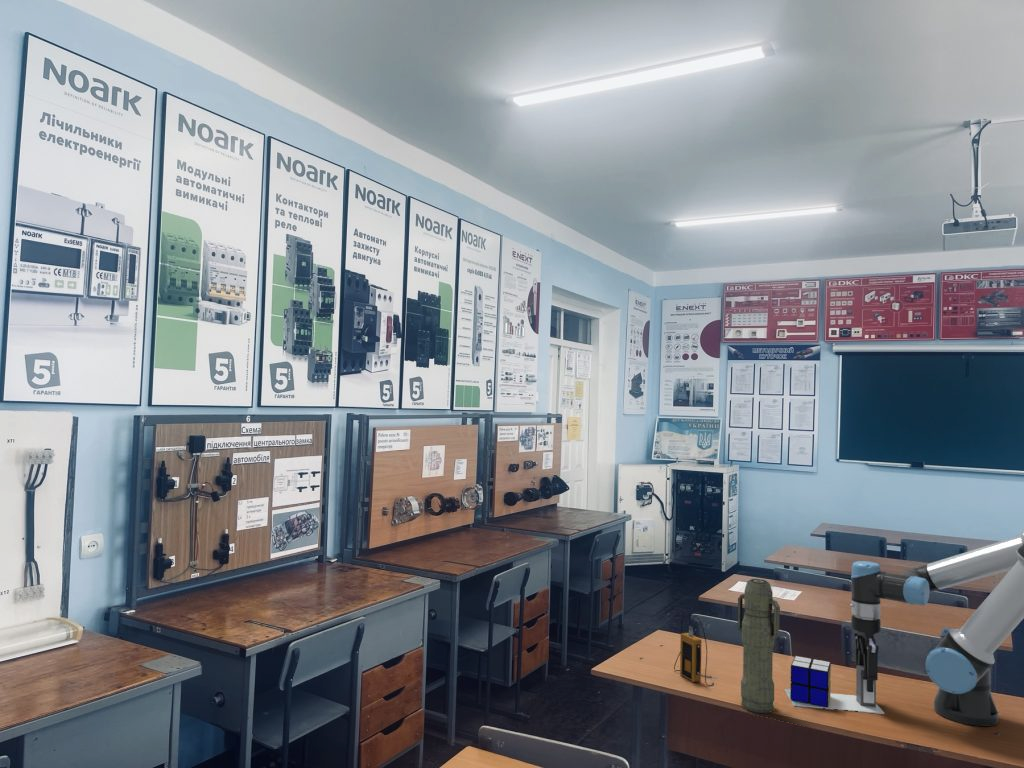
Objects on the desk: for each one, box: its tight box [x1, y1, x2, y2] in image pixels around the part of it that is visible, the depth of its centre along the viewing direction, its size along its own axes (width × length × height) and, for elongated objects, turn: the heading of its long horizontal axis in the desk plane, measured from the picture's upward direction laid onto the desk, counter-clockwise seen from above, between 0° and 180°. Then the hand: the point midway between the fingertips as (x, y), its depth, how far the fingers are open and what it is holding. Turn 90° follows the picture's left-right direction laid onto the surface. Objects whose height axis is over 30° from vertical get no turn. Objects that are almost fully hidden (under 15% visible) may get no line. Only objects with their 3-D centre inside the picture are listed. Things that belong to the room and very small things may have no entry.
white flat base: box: [784, 665, 885, 715], centre depth 204 cm, size 24×12×10 cm, turn 80°
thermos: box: [737, 578, 781, 714], centre depth 200 cm, size 9×12×35 cm
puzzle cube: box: [789, 655, 832, 707], centre depth 205 cm, size 10×10×10 cm
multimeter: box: [673, 611, 719, 687], centre depth 221 cm, size 15×10×20 cm
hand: (866, 699), depth 202 cm, fingers closed on white flat base, 4 cm apart
